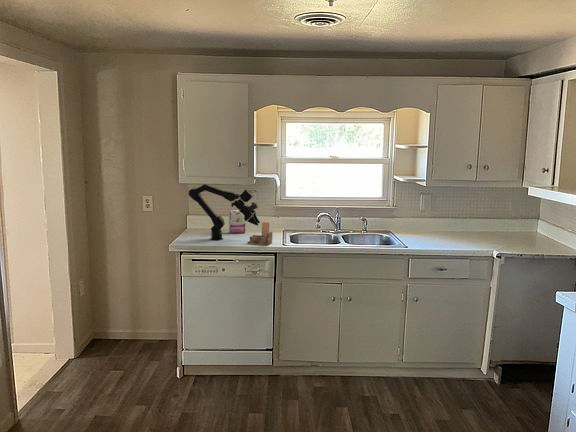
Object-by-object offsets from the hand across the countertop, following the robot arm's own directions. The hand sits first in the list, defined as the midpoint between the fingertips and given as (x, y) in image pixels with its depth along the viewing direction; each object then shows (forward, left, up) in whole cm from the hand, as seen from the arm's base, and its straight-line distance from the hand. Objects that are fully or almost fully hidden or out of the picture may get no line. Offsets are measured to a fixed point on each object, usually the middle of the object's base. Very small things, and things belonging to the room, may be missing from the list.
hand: (258, 224), depth 314 cm
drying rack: (+5, -6, -11) cm, 14 cm away
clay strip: (+4, +2, -11) cm, 12 cm away
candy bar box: (-28, +11, -11) cm, 32 cm away
